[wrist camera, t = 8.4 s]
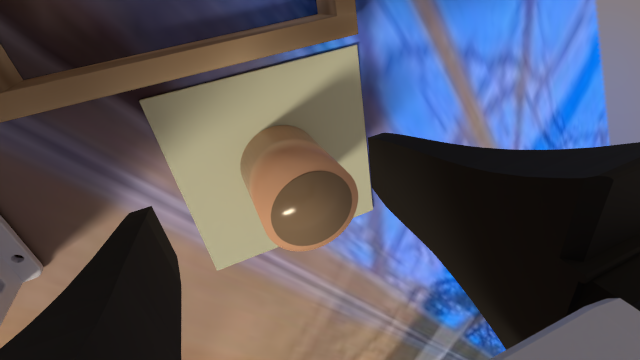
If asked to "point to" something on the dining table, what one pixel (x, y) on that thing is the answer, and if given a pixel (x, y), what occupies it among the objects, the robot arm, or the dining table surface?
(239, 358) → the dining table surface
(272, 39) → the cold frame
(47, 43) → the dining table surface
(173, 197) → the dining table surface
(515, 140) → the dining table surface
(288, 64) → the potting mat
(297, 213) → the terracotta pot
